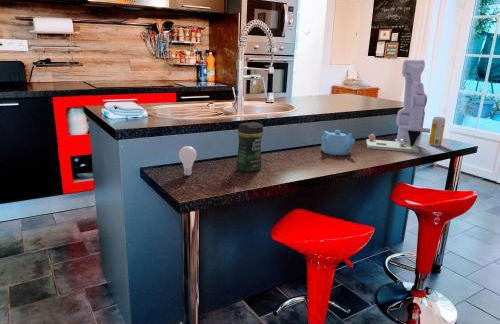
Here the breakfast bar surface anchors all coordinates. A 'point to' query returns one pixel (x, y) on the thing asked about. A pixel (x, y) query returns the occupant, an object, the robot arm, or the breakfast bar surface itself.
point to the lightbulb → (187, 158)
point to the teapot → (336, 143)
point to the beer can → (437, 131)
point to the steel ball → (402, 142)
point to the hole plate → (390, 146)
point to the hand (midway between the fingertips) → (411, 145)
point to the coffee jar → (249, 146)
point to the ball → (371, 137)
